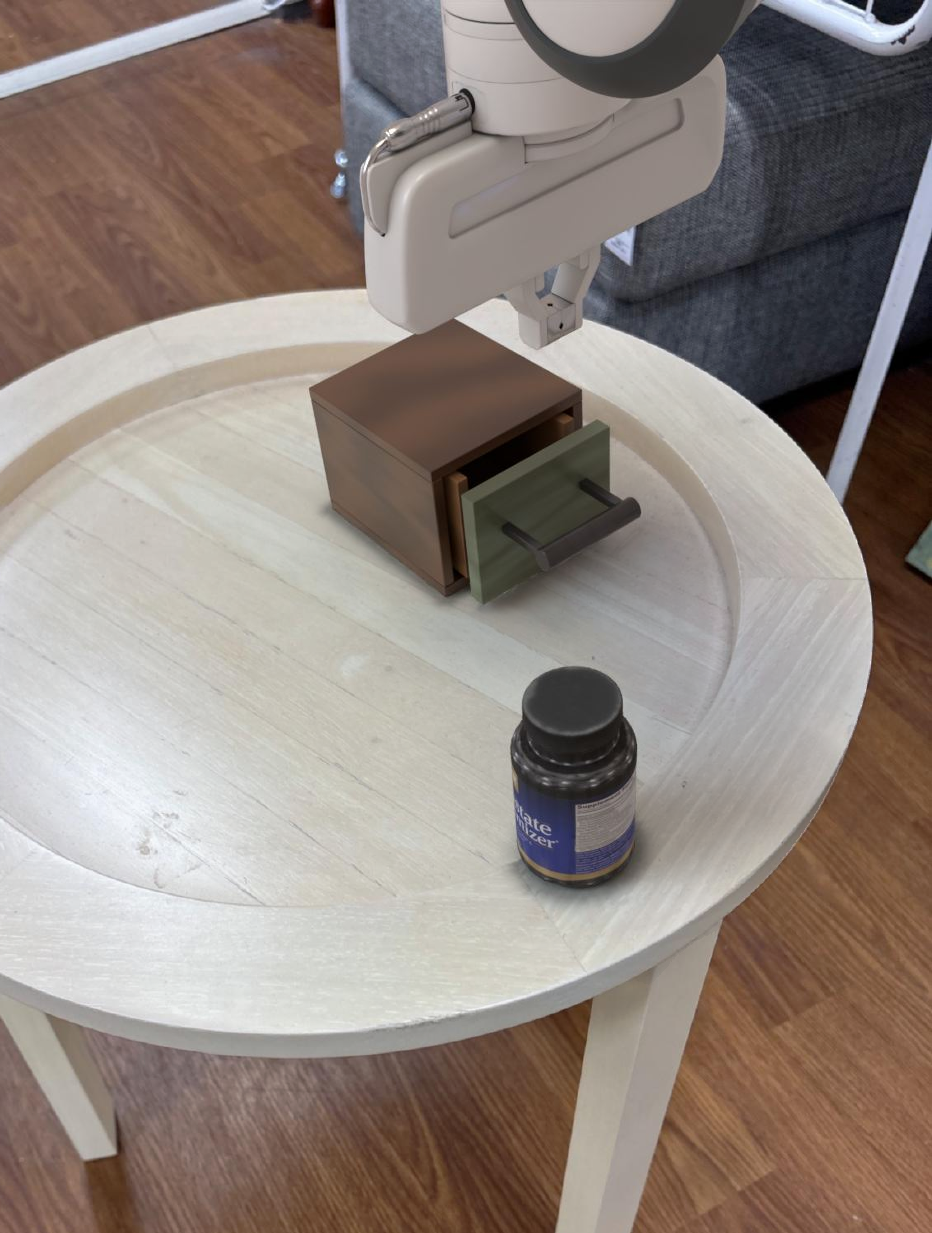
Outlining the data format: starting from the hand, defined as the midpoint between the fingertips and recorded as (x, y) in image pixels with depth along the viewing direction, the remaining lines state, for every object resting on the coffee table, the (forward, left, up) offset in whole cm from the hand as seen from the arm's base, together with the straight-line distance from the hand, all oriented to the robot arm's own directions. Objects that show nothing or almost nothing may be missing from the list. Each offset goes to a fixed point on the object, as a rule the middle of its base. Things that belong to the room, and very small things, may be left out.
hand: (551, 336), depth 70 cm
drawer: (0, -5, -17) cm, 17 cm away
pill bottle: (+13, +17, -18) cm, 27 cm away
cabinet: (0, -11, -18) cm, 21 cm away
